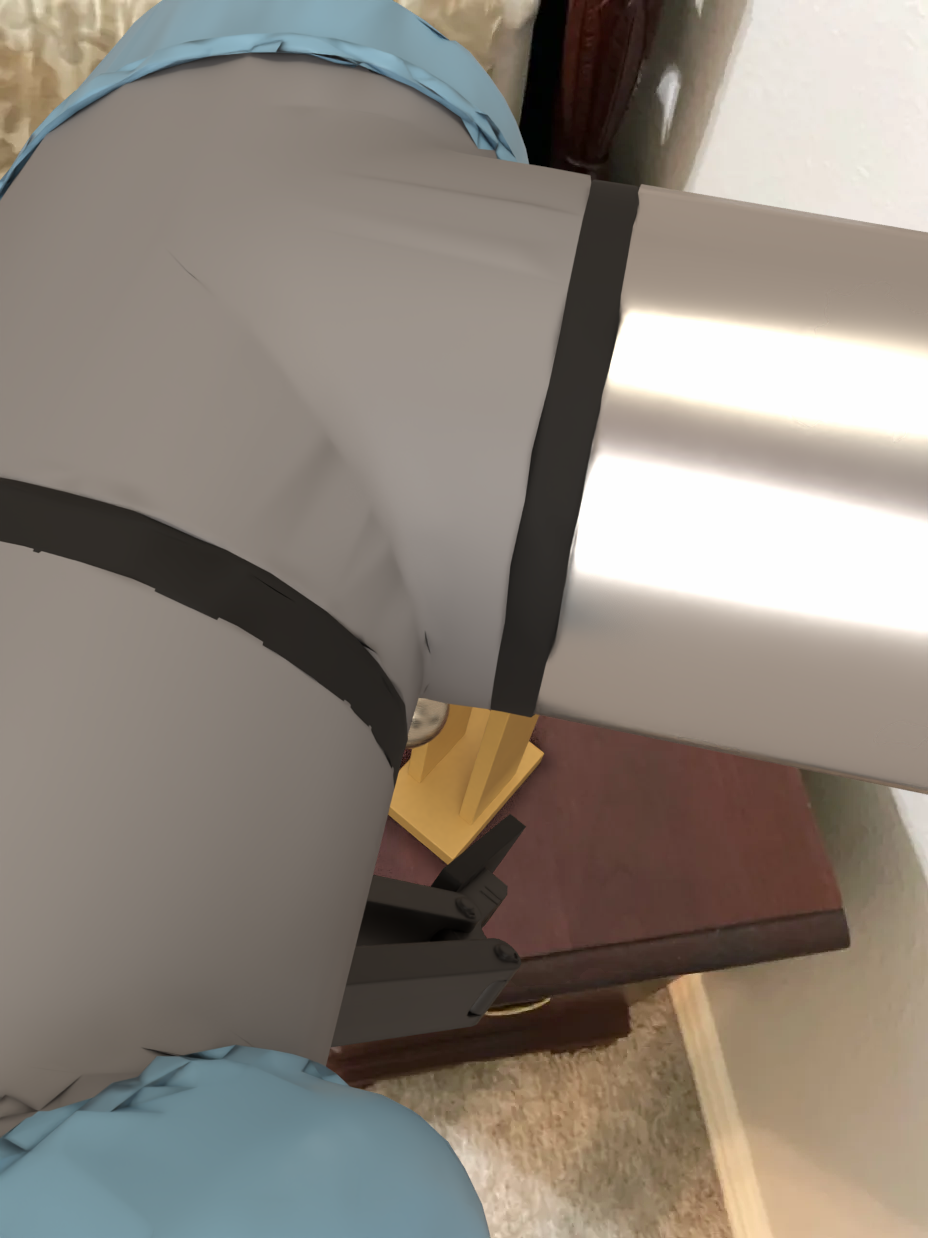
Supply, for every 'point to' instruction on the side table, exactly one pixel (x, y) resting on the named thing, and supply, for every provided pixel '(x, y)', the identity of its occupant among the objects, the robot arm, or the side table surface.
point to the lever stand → (463, 777)
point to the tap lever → (427, 722)
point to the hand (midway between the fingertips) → (362, 735)
